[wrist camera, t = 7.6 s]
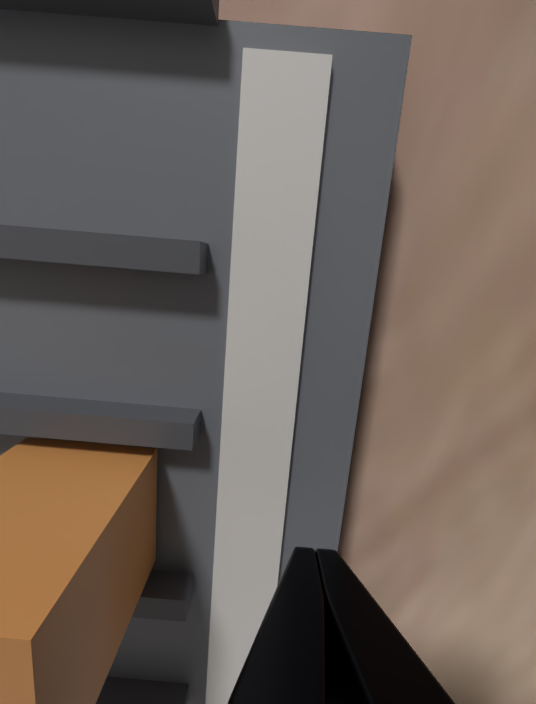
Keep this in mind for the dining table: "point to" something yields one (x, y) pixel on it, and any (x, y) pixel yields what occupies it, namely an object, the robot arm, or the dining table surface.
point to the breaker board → (195, 288)
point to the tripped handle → (70, 563)
